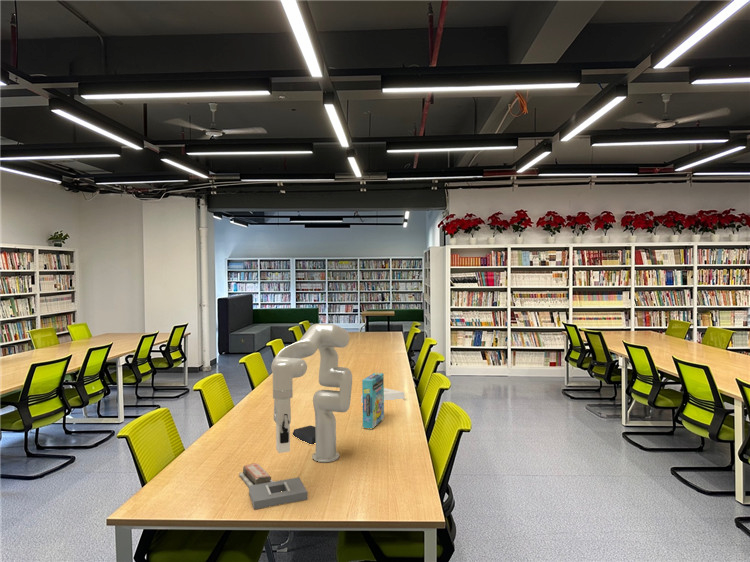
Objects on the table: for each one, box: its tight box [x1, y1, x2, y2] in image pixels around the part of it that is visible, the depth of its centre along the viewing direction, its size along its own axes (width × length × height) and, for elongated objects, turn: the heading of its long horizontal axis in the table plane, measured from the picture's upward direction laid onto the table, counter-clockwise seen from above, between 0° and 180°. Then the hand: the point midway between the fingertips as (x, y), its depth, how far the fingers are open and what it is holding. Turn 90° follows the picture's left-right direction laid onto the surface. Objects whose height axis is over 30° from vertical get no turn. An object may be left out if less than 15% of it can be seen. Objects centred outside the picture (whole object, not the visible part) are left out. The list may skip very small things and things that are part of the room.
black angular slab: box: [292, 425, 316, 445], centre depth 250 cm, size 13×19×4 cm
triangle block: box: [360, 387, 405, 404], centre depth 321 cm, size 30×26×6 cm
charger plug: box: [275, 423, 291, 454], centre depth 185 cm, size 4×4×13 cm
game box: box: [361, 372, 385, 429], centre depth 272 cm, size 20×6×27 cm, turn 161°
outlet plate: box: [248, 476, 309, 511], centre depth 185 cm, size 14×20×3 cm
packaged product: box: [238, 462, 274, 488], centre depth 199 cm, size 18×5×10 cm
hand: (283, 440), depth 185 cm, fingers closed on charger plug, 4 cm apart
